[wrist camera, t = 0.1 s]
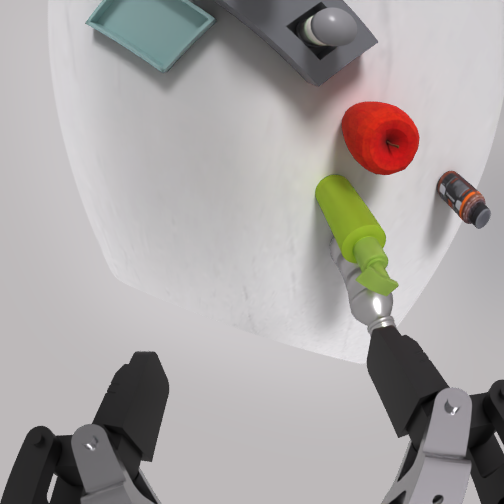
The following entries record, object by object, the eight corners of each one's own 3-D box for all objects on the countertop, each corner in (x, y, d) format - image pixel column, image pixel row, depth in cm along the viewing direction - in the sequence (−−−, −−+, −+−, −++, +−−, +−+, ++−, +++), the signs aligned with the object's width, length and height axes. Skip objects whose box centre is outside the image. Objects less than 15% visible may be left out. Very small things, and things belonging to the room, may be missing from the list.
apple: (360, 160, 37) (394, 196, 28) (317, 127, 33) (345, 155, 25) (395, 118, 32) (438, 144, 24) (354, 80, 29) (395, 93, 20)
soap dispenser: (325, 164, 37) (385, 256, 22) (357, 186, 40) (419, 279, 25) (302, 193, 40) (342, 296, 25) (335, 213, 43) (381, 311, 28)
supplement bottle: (431, 191, 40) (466, 228, 32) (445, 164, 36) (485, 198, 28) (448, 200, 42) (481, 237, 33) (462, 176, 38) (498, 210, 29)
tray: (93, 24, 20) (85, 23, 18) (137, -27, 16) (131, -31, 14) (167, 71, 27) (162, 72, 25) (216, 21, 23) (215, 18, 21)
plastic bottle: (365, 241, 47) (409, 331, 32) (334, 258, 50) (367, 352, 35) (354, 218, 44) (403, 312, 29) (320, 237, 46) (355, 336, 31)
